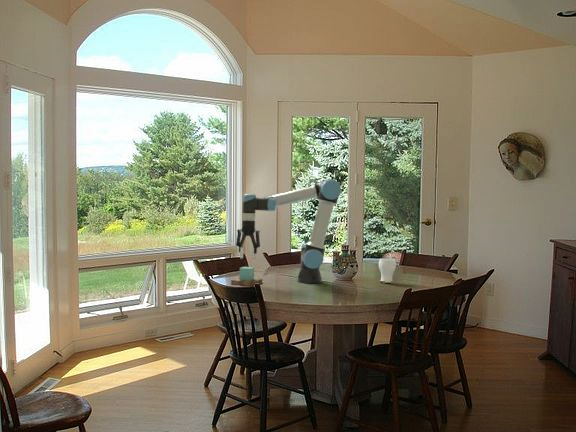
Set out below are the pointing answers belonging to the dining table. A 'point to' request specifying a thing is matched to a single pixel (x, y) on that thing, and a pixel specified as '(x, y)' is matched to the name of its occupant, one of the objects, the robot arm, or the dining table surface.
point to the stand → (246, 282)
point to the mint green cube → (246, 273)
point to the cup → (387, 269)
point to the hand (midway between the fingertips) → (247, 258)
